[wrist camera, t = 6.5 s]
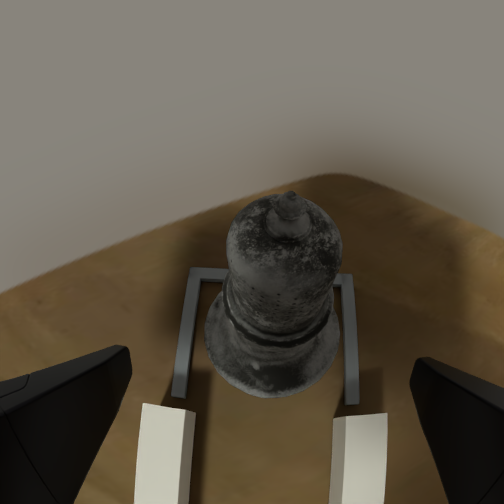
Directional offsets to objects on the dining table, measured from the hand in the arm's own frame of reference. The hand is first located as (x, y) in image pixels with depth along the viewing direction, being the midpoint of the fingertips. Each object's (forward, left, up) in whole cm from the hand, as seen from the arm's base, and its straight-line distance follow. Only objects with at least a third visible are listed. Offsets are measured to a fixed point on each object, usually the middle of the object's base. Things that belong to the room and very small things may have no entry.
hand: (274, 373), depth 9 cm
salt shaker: (+2, -1, -7) cm, 8 cm away
